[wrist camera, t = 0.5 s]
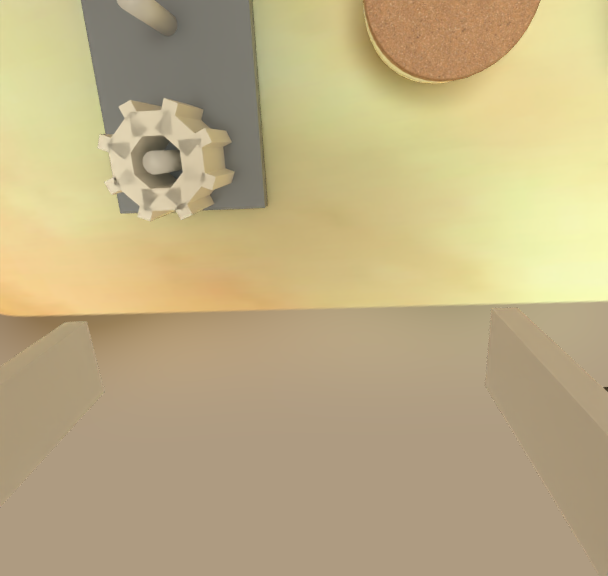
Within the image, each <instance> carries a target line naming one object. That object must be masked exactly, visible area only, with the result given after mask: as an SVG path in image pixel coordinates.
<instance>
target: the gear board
mask: <svg viewBox="0 0 608 576" xmlns="http://www.w3.org/2000/svg"><path fill="white" fill-rule="evenodd" d="M81 3H82V9H83V14H84V20H85V25H86V30H87V36H88V41H89V47H90V52H91V57H92V63H93V68H94V73H95V79H96V84H97V90H98V95H99V100H100V106H101V111H102V117H103V122H104V127H105V133H106V134H100V136H99V141H98V147H97V148H99V149H101V150H104V151H107V152H109V158H110V163H111V168H112V174H113V177H112V178H111V179H109V180H107V181H105V182H104V183H105V185H106V186H107V188H108V190H109V192H110V193H111V195H112V194H117V198H118V203H119V208H120V213H138V216H137V217H139V218H142V219H145V220H148V221H152V220H155V219H157V218H160V217H162V216H164V215H167V214H169V213H171V212H174V211H176V212H177V214H178V216H179V218H180V219H181V220H183V219H185V218H187V217H189V216H191V215H193V214H195V213H197V212H199V211H201V210H221V209H246V208H265V207H266V206H267V191H266V178H265V165H264V151H263V138H262V125H261V112H260V98H259V85H258V72H257V58H256V45H255V32H254V18H253V5H252V0H81Z"/></svg>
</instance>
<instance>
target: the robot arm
mask: <svg viewBox="0 0 608 576" xmlns="http://www.w3.org/2000/svg"><path fill="white" fill-rule="evenodd" d="M485 387H486V388H487V390H488V392H489V394H490V395H491V397H492V399H493V400H494V402H495V404H496V405H497V407H498V408H499V410H500V412H501V413H502V415H503V417H504V418H505V420H506V422H507V424H508V425H509V427H510V429H511V430H512V432H513V434H514V435H515V437H516V439H517V440H518V442H519V444H520V445H521V447H522V449H523V450H524V452H525V454H526V455H527V457H528V459H529V460H530V461H531V463H532V465H533V467H534V468H535V470H536V472H537V474H538V475H539V476H540V479H541V480H542V482H543V483H544V485H545V487H546V488H547V490H548V492H549V493H550V495H551V497H552V498H553V500H554V502H555V503H556V505H557V507H558V508H559V510H560V512H561V513H562V515H563V517H564V518H565V520H566V522H567V523H568V525H569V527H570V528H571V530H572V532H573V533H574V535H575V537H576V538H577V540H578V542H579V543H580V545H581V547H582V548H583V550H584V552H585V553H586V555H587V557H588V558H589V560H590V562H591V563H592V565H593V567H594V568H595V570H596V571H597V573H598V575H599V576H608V387H602V386H601V385H600V384H599V383H598V382H597V381H596V380H594V379H593V378H592V377H591V376H590V375H589V374H588V373H587V372H586V371H585V370H584V369H583V368H582V367H581V366H579V365H578V364H577V363H576V362H575V361H574V360H573V359H572V358H571V357H570V356H569V355H568V354H567V353H565V351H563V350H562V349H561V348H560V347H559V346H558V345H557V344H556V343H555V342H554V341H553V340H552V339H551V338H550V337H548V336H547V335H546V334H545V333H544V332H543V331H542V330H541V329H540V328H539V327H538V326H537V325H535V323H533V322H532V321H531V320H530V319H529V318H528V317H527V316H526V315H525V314H524V313H523V312H522V311H521V310H520V309H518V308H517V307H514V308H492V309H491V320H490V332H489V343H488V355H487V367H486V378H485ZM104 392H105V391H104V387H103V383H102V380H101V375H100V372H99V368H98V364H97V360H96V356H95V352H94V348H93V344H92V340H91V336H90V332H89V329H88V324H87V322H65V323H63V324H62V325H60V326H59V327H57V328H56V329H54V330H53V331H52V332H50V333H49V334H47V335H46V336H44V337H43V338H41V339H40V340H38V341H37V342H35V343H34V344H32V345H31V346H29V347H28V348H27V349H25V350H24V351H22V352H21V353H19V354H18V355H16V356H15V357H13V358H12V359H10V360H9V361H7V362H6V363H5V364H3V365H2V366H0V507H1V506H2V505H3V504H4V502H6V500H7V499H8V498H9V497H10V496H11V495H12V494H13V493H14V492H15V491H16V489H17V488H18V487H19V486H20V485H21V484H22V483H23V482H24V481H25V480H26V478H27V477H28V476H29V475H30V474H31V473H32V472H33V471H34V470H35V468H36V467H37V466H38V465H39V464H40V463H41V462H42V461H43V460H44V459H45V457H46V456H47V455H48V454H49V453H50V452H51V451H52V450H53V449H54V448H55V447H56V445H57V444H58V443H59V442H60V441H61V440H62V439H63V438H64V437H65V436H66V434H67V433H68V432H69V431H70V430H71V429H72V428H73V427H74V426H75V425H76V423H77V422H78V421H79V420H80V419H81V418H82V417H83V416H84V414H85V413H86V412H87V411H88V410H89V409H90V408H91V407H92V406H93V405H94V404H95V403H96V401H97V400H98V399H99V398H100V397H101V396H102V395H103V394H104Z"/></svg>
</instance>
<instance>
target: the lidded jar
mask: <svg viewBox="0 0 608 576" xmlns="http://www.w3.org/2000/svg"><path fill="white" fill-rule="evenodd" d="M363 3H364V17H365V24H366V28H367V31H368V34H369V37H370V40H371V42H372V44H373V47H374V49H375V51H376V52H377V53H378V55H379V56H380V58H381V59H382V60H383V61H384V62H385V64H386V65H387V66H388V67H389V68H391V69H392V70H393V71H395V72H396V73H397V74H399V75H401V76H403V77H405V78H407V79H409V80H413V81H416V82H421V83H432V84H434V83H446V82H450V81H454V80H458V79H463V78H467V77H469V76H471V75H474V74H476V73H479V72H481V71H483V70H484V69H486V68H488V67H489V66H491V65H493V64H494V63H496V62H497V61H498V60H499V59H501V58H502V57H503V56H504V55H506V54H507V53H508V52H509V51H510V50H511V49H512V48H513V46H514V45H515V44H516V43H517V42H518V41H519V39H520V38H521V37H522V35H523V34H524V33H525V31H526V30H527V28H528V26H529V24H530V23H531V21H532V19H533V17H534V15H535V13H536V10H537V8H538V5H539V3H540V0H363Z"/></svg>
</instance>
